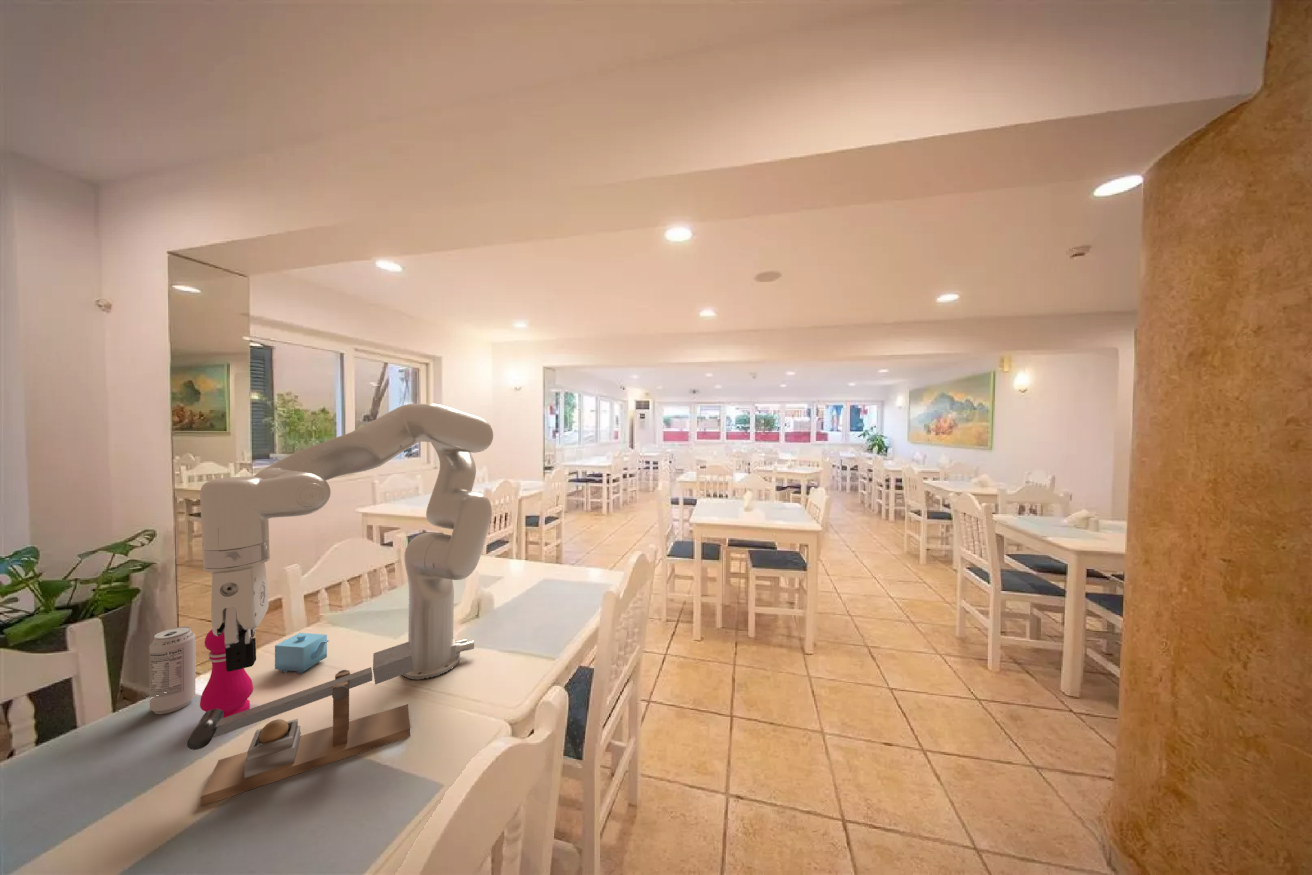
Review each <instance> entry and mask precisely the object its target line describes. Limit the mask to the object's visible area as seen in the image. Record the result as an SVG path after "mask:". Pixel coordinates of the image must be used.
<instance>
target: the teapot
mask: <svg viewBox="0 0 1312 875" xmlns="http://www.w3.org/2000/svg"><path fill="white" fill-rule="evenodd" d="M328 642H330V640H329V639H328V635H327V634H324V633H323V634H322V633H311V632H310V633H309V632H299V633H296V634H294V635H292V636H291V637H289V638H287V639H284V640H283V641H282V642H279V643H277V644H276V645H274V670H278V671H279V670H281V671H282V673H288V672H291V671H292V672H296V674H300V675H301V674H303V673H305V672H306V671H307V670H308V669H310V668H311V667H313V666H315V665H317V664H316V663H318V662H319V663H320V662H321V661H323V660H324V659H326V658H327V657H328V644H327V643H328ZM319 663H318V664H319Z"/></svg>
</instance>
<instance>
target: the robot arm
mask: <svg viewBox="0 0 1312 875" xmlns="http://www.w3.org/2000/svg"><path fill="white" fill-rule="evenodd" d="M493 440H494V431H493V428H492V426H491V424H490V423H489V422H488V421H487V420H485V419H484V418H482V417H479V416H477V415H474V414H470V413H468V412H464V411H461V410H458V409H456V408H453V407H449V406H446V405H442V404H438V403H407V404H403V405H400V406H399V407H396V408H394V409H393V410H390V411H389V412H387V413H385V414H383V415H381V416H379V417H378V418H376V419H374V420H372V421H370V422H368V423H366V424H364V425H362V426H360V427H359V428H357V429H355V430H353V431H351V432H348V433H346V434H343V435H339V436H337V437H333V438H331V439H329V440H327V441H323V442H321V443H317V444H316V445H315V444H314V445H312V446H310V447H307V448H304V449H302V450H299V451H297V452H294V453H292V454H291V455H288V456H286V457H284V458H282V459H281V460H278V461H276V462H274V463H273V464H271V465H268V466H267V467H265V468H263V469H261V470H260V471H258V472H257V473H255V475H254V476H233V477H232V476H231V477H230V476H229V477H222V478H215V479H211V480H209V481H206V482H205V483H203V484H202V486H201V487H200V490H199V491H200V492H199V495H200V497H199V499H200V501H199V504H200V520H201V521H200V522H201V544H202V546H201V547H202V570H203V572H207V573H211V585H210V587H211V589H210V590H211V592H210V593H211V594H210V596H211V598H210V599H211V600H210V601H211V602H210V605H211V606H210V608H211V609H210V610H211V612H210V613H211V614H210V615H211V616H210V617H211V618H210V619H211V628H212V629H211V630H213V634H214V635H216V636H220V635H221V634H222V633H223V631H224V636H225V647H226V648H225V650H226V671H228V672H230V671H234V670H238V669H243V668H244V669H247V668H252V667H253V666H254V664H255V662H256V661H257V645H256V644H257V638H256V637H255V635H256V628H257V627H258V626H259V625H260V623H261V622H262V620H263V619H264V617H265V615H266V614H267V612H268V610H269V606H270V605H269V604H270V602H269V593H268V592H269V590H268V583H267V582H268V580H267V572H266V565H265V563H267V562H268V561H269V560H270V557H271V555H270V530H269V529H270V525H269V519H272V518H274V519H275V518H286V517H287V518H288V517H302V516H307V515H310V514H312V513H316V512H317V511H319V510H321V509H322V508H324V506H325V505H326V504H327V503H328V502H329V499H330V497H331V492H332V490H331V488H330V484H329V483H328V480H331V479H334V478H336V477H337V478H339V477H341V476H345V475H351V474H356V473H361V472H365V471H369V470H374V469H377V468H378V467H381V466H382V465H383V466H384V464H386V463H387V462H389V461H390V460H393V458H395V457H397V456H398V455H400V454H402V453H403V452H404V451H406V450H407V449H410V448H411V447H412V446H414V445H415V444H416V445H417V444H418V443H420V442H421V443H422V442H423V443H424V442H425V443H430V444H431V445H432V447H433V448H434V450H435V452H436V454H437V457H438V460H439V471H438V474H437V478H436V481H435V484H434V486H433V489H432V493H431V496H430V499H429V502H428V503H427V508H426V511H425V512H426V514H425V517H426V519H427V522H428V523H430V525H432V526H434V527H437V528H440V529H447V530H452V533H451V534H446V533H439V532H423V533H420V534H418V535H416V536H415V537H413V538H412V539H411V540H410V541H409V543H408V544H407V546H406V548H405V551H404V556H403V557H404V558H403V560H404V567H405V571H406V575H407V576H406V577H407V582H408V634H407V635H408V638H407V639H408V641H407V642H409V641H410V647H411V654H412V662H413V670H414V671H411V672H409V673H406V674H403V675H402V676H403V677H404V676H405V677H404V678H406V677H407V679H410V678H411V679H410V680H425V679H424V678H426V679H430V678H429V677H431V678H434V677H433V676H435V677H438V676H440V674H441V675H443V674H445V673H444V672H446V671H447V672H449V671H450V670H449V669H451V668H452V667H454V666H455V665H456V664H457V663H458V664H459V662H460V660H461V652H467V651H471V650H474V649H475V642H474V640H471V641H470V640H469V641H468V639H467V638H464V639H461V640H455V637H454V605H455V604H454V601H455V587H454V581H461V580H465V579H466V578H469V576H470V575H472V574H473V572H474V571H475V569H476V568H477V566H478V564H479V561H480V559H481V555H482V553H483V549H484V545H485V542H486V540H487V535H488V532H489V530H490V529H489V528H490V525H491V521H492V516H493V509H492V503H491V501H490V498H488V497H487V496H486V495H485V494H483V493H481V492H478V491H473V487H474V483H475V479H476V477H477V476H476V474H477V466H476V462H475V460H474V457H473V455H472V453H480V452H484V451H485V450H487V449H488V448H489V447H490V446H491V445H492V443H493ZM459 659H460V660H459ZM458 661H459V662H458ZM458 664H457V665H458ZM457 665H456V666H457ZM456 666H455V667H456ZM455 667H454V668H455ZM452 669H453V668H452ZM452 669H451V670H452ZM448 670H449V671H448ZM447 672H446V673H447ZM442 673H443V674H442Z"/></svg>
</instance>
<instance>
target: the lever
mask: <svg viewBox="0 0 1312 875" xmlns="http://www.w3.org/2000/svg"><path fill="white" fill-rule="evenodd" d="M372 654H373V656H372V659H373V660H372V662H373V663H372V667H371V666H370V667H368V668H365V669H362V670H358V671H355V672H353V673H350V675H347V676H344V677H341V678H338V679H332V680H329V681H326V682H323V683H321V684H318V685H315V686H313V687H312V686H311V687H310V688H307V689H303V690H301V691H298V692H295V693H293V694H290V695H287V696H283V697H281V698H280V697H279V698H278V699H274V700H272V701H269V702H266V703H264V704H261V705H257V706H254V707H252V708H251V707H250V709H248V710H245V711H243V712H240V713H237V714H234V715H231V716H228V717H225V718H223V717H224V712H223V711H222V710H221V709H212V710H209V711H207V712H204V714H203V715H202V716H201V718H200V720H199V721H198V723H197V725H196V726H195V727H194V730H193V731H192V733H191V734H190V736H189V737H188V740H186V747H187V748H188V749H189V750H192V751H193V750H194V751H196V750H197V751H198V750H202V749H203V748H205V747H207V745H209V744H210V742H211V741H212V739H214V738H217V737H220V736H223V735H226V734H228V733H231V732H234V731H237V730H239V729H242V728H245V727H248V726H250V725H253V724H256V723H258V722H261V721H265V720H266V719H267V720H268V719H271V718H273V717H276V716H278V715H281V714H283V713H287V712H289V711H292V710H295V709H299V708H300V707H303V706H305V705H309V704H311V703H314V702H317V701H320V700H322V699H325V698H328V697H330V696H331V697H332V693H333V686H334V684H338V683H342V682H346V681H348V689H349V690H350V689H353V688H356V687H358V686H361V685H364V684H367V683H369V682H372V681H373V677H374V685H379V684H381V683H384V682H386V681H389V680H392V679H395V678H397V677H400V676H403V674H406V673H409V672H411V671H414V670H413V662H412V654H411V647H410V641H409V642H408V641H407V642H403V643H400V644H398V645H395V646H392V647H389V648H385V649H382V650H380V651H377V652H374V653H372Z"/></svg>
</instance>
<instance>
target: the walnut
mask: <svg viewBox="0 0 1312 875" xmlns="http://www.w3.org/2000/svg"><path fill="white" fill-rule="evenodd" d="M261 729H262V728H261ZM287 732H288V723H287V721H286V720H284V719H280V718H279V719H278V718H277V719H274V720H272V721H269V722H267V723H266V725H264V726H263V729H262V730H261V732H260V735H259V740H260V742H261V743H262V744H266V743H270V742H273V741H277V740H280V739H283V738H284V737H285V736H286V734H287Z"/></svg>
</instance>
